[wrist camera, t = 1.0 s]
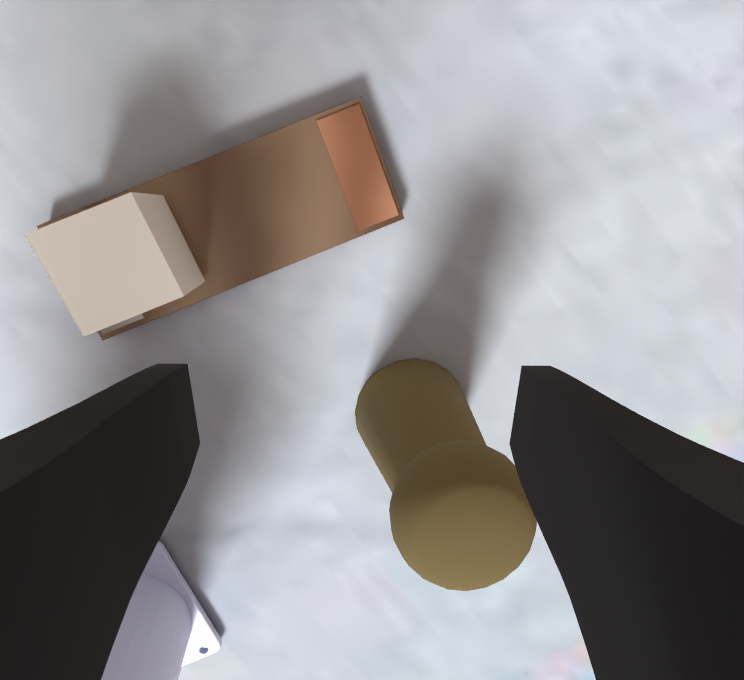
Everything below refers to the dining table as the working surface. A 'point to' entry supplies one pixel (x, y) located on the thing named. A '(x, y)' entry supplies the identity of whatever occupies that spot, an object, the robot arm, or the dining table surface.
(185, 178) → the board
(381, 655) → the dining table surface
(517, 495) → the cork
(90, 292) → the cream cube block
